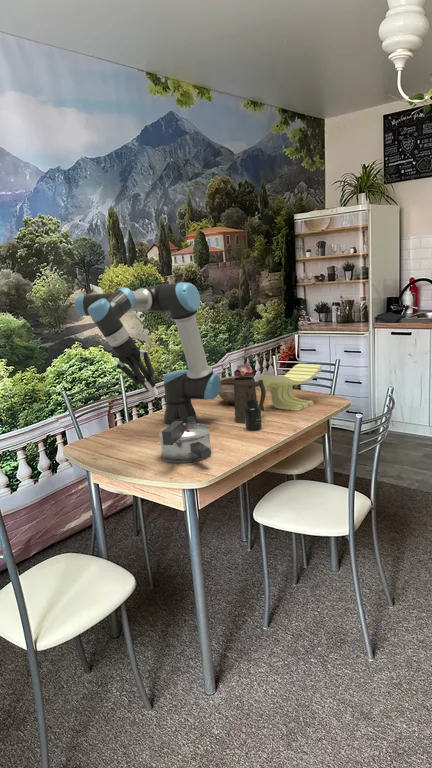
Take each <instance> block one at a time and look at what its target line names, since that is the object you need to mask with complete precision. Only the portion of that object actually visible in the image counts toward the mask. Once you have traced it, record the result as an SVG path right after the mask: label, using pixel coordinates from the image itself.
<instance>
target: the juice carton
mask: <svg viewBox="0 0 432 768" xmlns="http://www.w3.org/2000/svg"><path fill="white" fill-rule="evenodd" d="M233 376H234V377H235V378H237V377H253V378H254V379H255V377H254V376H255V375H254V370H253V368H251V367H250V363H244V364H238V365H237V366H236V369H235V370H234V372H233Z"/></svg>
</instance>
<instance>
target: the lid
mask: <svg viewBox="0 0 432 768" xmlns="http://www.w3.org/2000/svg"><path fill="white" fill-rule="evenodd" d="M196 417H197V415H196V416H189V417H188V418H187V422H188V423H183V421H174V422H173V423H171V424H168V425H167V426H165V427H164V428H163V427H162V429H160V430H159V432H158V434H159V435H158V436H159V438H161V439H163V445H173V444H174V443H175V442H176V441H187V440H194V439H198V438H201V437H204V436H206V435H207V434H209V435H210V433H211V432H210V431H211V429H210V425H207V424H205V423H202V422H201V423H199V422H198V419H197V418H198V417H197V418H196ZM161 439H160V440H161Z"/></svg>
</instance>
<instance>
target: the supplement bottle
mask: <svg viewBox="0 0 432 768" xmlns="http://www.w3.org/2000/svg"><path fill="white" fill-rule="evenodd" d="M246 405H247V407H246V408H245V423H244V426H245V430H247V431H250V432H251V431H253V432H254V431H259V430H261V429H262V411H261V409H260V407H258V406H259V401H258V399H257V400H249V401H247V404H246Z"/></svg>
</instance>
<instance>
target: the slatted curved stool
mask: <svg viewBox="0 0 432 768" xmlns="http://www.w3.org/2000/svg"><path fill="white" fill-rule="evenodd" d="M321 371H322V364H313V363H312V364H309V363H298V364H295V365H293V367H292V368H291V369H290V370H289V371H288V372H286V374H284V375H272V374H271V375H270V374H261V375H260V376H259V377H258V380H257V381H259V380H263V384H264V387H265V390H266V391H268V390H269V392H270V395H271V396H270V397H271V402H272V406H274V408H276V409H280V410H281V409H282V410H289V409H290V410H291V411H297V410H299V411H301V410H303V409H306V408H308V407H311V406H313V405H314V402H313V400H307V399H301V398H298V397H296V396H294V395H293V393H292V391H293V388H294V387H293V386H298V385H301V384H304V383H307V382H309V381H313V378H316V375H319V374H320V372H321ZM258 391H261V388H260V386H258Z"/></svg>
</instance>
